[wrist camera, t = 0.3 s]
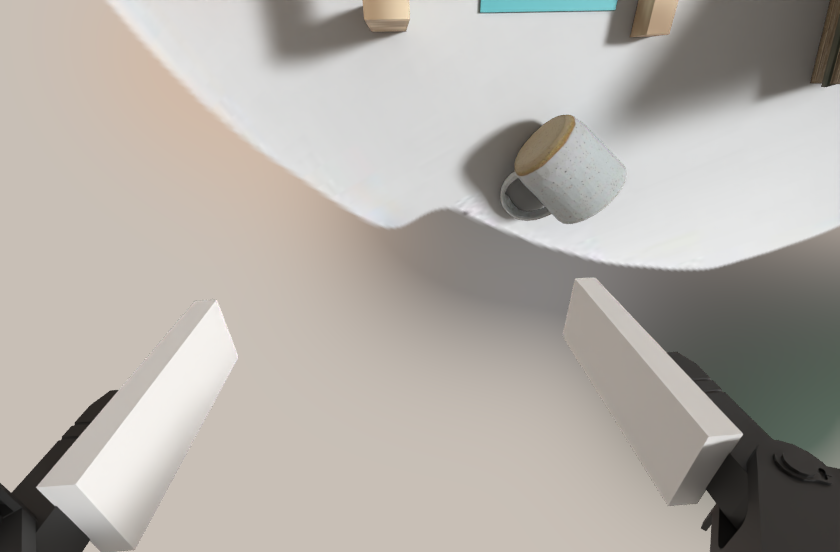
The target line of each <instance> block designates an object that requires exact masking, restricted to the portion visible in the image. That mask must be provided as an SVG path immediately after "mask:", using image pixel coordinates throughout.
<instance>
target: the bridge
mask: <svg viewBox="0 0 840 552" xmlns="http://www.w3.org/2000/svg"><path fill="white" fill-rule="evenodd" d="M363 12H364V20H365V22H366V23H367V25H368V27H369V28H370V30H371V31H372V32H392V31H406V30H407V26H408V23H409V20H410V10H409V0H363Z"/></svg>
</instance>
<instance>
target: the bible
mask: <svg viewBox="0 0 840 552" xmlns="http://www.w3.org/2000/svg"><path fill="white" fill-rule="evenodd" d="M810 83H822V85H821V87H828V86H832V85H835V84H840V0H830V3H829V7H828V11H827V16H826V20H825V24H824V28H823V32H822V36H821V40H820V44H819V48H818V53H817V57H816V61H815V65H814V69H813V73H812V77H811V81H810Z"/></svg>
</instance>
